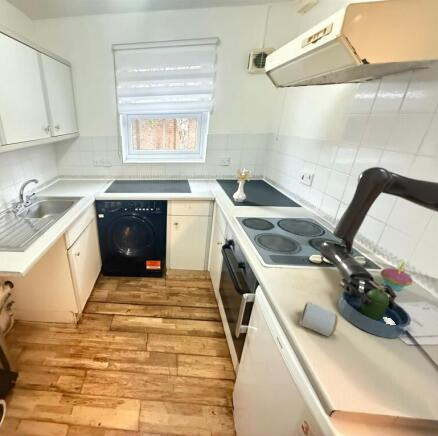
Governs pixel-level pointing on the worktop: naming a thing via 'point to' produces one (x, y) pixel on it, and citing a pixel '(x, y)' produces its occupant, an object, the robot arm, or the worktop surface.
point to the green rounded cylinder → (375, 305)
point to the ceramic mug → (319, 319)
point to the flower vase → (241, 184)
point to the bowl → (350, 311)
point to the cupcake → (396, 278)
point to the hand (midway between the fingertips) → (381, 305)
